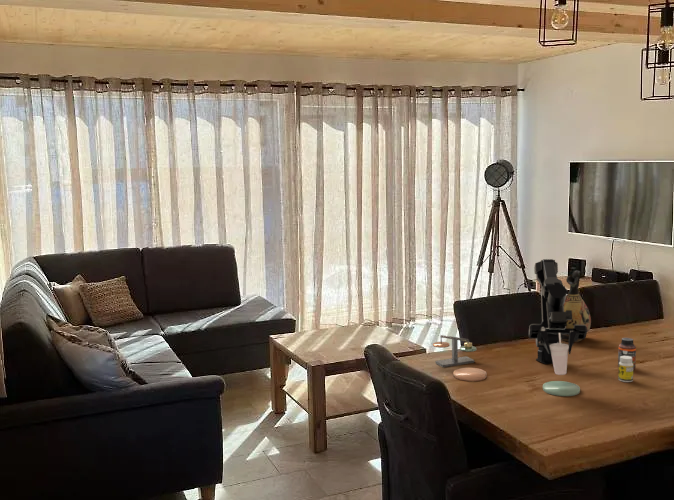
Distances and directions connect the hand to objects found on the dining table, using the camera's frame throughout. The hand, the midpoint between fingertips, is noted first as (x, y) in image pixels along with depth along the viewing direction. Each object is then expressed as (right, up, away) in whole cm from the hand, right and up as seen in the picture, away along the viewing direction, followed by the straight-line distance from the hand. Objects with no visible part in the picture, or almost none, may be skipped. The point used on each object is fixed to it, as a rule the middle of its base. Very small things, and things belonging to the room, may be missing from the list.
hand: (559, 353), depth 222 cm
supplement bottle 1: (+33, -9, +23) cm, 41 cm away
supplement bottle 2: (+27, -11, +10) cm, 31 cm away
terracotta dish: (-26, -11, +21) cm, 35 cm away
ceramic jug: (+28, -4, +66) cm, 71 cm away
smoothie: (+1, -7, +2) cm, 8 cm away
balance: (-29, -9, +37) cm, 48 cm away
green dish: (+2, -13, +3) cm, 13 cm away
